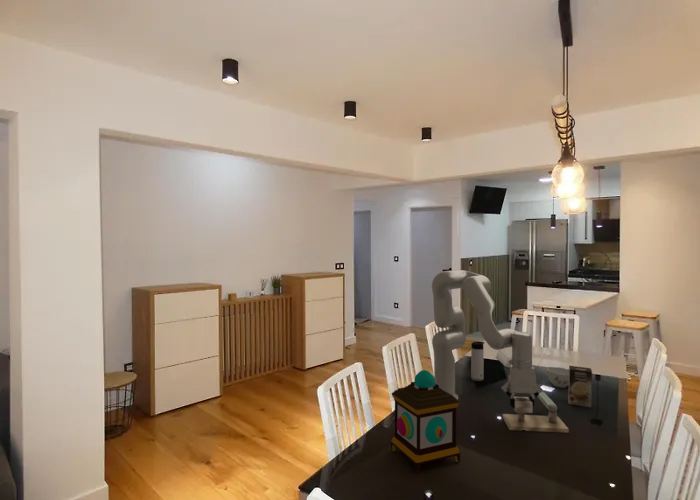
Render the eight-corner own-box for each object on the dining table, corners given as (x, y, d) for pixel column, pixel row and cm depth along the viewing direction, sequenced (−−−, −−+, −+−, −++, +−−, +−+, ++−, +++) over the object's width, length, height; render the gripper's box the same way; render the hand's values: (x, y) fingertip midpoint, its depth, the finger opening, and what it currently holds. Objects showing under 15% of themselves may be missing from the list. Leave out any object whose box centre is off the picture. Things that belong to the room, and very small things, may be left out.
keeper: (549, 411, 176) (549, 407, 176) (536, 395, 193) (536, 391, 193) (558, 412, 175) (558, 407, 175) (544, 396, 193) (544, 392, 193)
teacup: (572, 391, 216) (573, 375, 216) (545, 387, 222) (545, 371, 222) (574, 382, 229) (574, 367, 229) (548, 379, 235) (548, 364, 235)
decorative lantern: (414, 477, 139) (415, 382, 139) (385, 449, 158) (385, 365, 157) (466, 464, 147) (467, 374, 147) (432, 439, 166) (432, 359, 165)
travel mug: (484, 381, 231) (484, 343, 231) (471, 380, 233) (471, 342, 232) (483, 377, 237) (483, 340, 237) (470, 377, 239) (470, 340, 238)
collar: (515, 412, 175) (515, 402, 175) (511, 406, 182) (511, 396, 182) (532, 412, 175) (532, 402, 175) (528, 406, 181) (528, 397, 181)
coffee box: (568, 404, 200) (568, 369, 199) (568, 399, 205) (568, 365, 205) (591, 407, 196) (592, 371, 195) (590, 402, 202) (591, 367, 201)
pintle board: (509, 429, 173) (509, 415, 173) (502, 417, 185) (502, 403, 185) (568, 432, 171) (568, 417, 171) (557, 419, 183) (558, 406, 182)
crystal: (522, 362, 254) (510, 351, 278) (511, 355, 254) (500, 345, 278) (516, 373, 254) (504, 361, 278) (505, 366, 255) (494, 355, 278)
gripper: (501, 365, 175) (501, 410, 176) (547, 366, 173) (547, 412, 173) (497, 360, 183) (497, 403, 183) (541, 361, 181) (541, 405, 181)
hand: (521, 407), depth 178 cm, fingers closed on collar, 6 cm apart
